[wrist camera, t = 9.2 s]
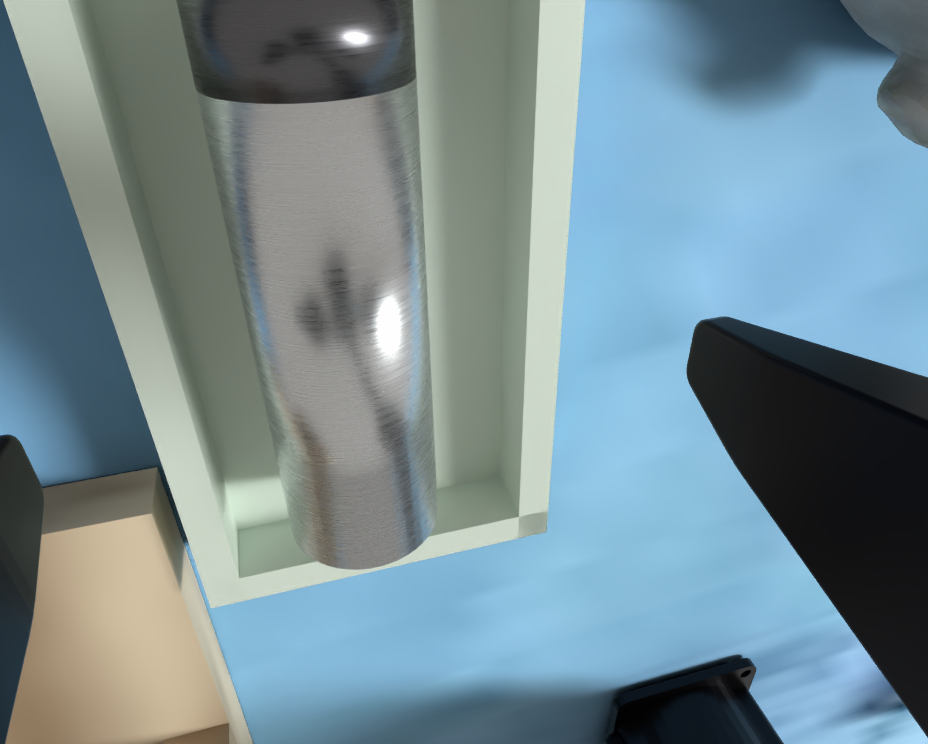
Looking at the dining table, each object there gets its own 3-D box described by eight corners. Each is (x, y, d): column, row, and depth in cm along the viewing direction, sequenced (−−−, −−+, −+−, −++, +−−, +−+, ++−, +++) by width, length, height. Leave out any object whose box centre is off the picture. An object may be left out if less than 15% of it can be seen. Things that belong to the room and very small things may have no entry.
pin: (413, -42, 12) (408, -25, 9) (437, 461, 18) (438, 566, 15) (207, -37, 11) (134, -20, 9) (303, 465, 18) (278, 573, 15)
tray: (546, -219, 12) (602, -241, 10) (518, 477, 20) (546, 531, 18) (-29, -231, 10) (-87, -264, 8) (212, 541, 18) (211, 608, 17)
